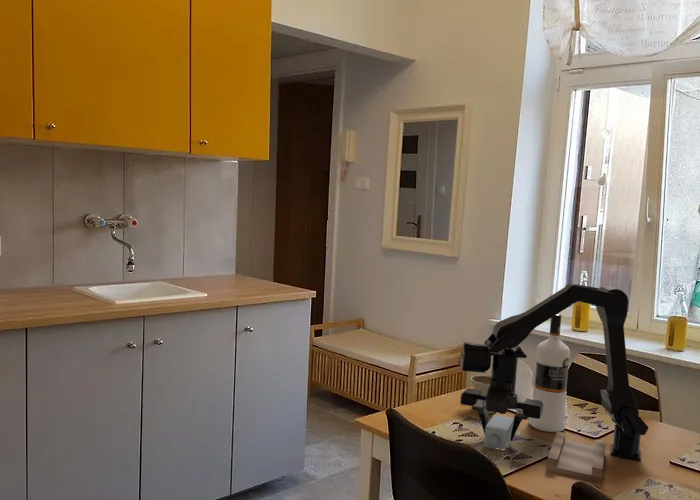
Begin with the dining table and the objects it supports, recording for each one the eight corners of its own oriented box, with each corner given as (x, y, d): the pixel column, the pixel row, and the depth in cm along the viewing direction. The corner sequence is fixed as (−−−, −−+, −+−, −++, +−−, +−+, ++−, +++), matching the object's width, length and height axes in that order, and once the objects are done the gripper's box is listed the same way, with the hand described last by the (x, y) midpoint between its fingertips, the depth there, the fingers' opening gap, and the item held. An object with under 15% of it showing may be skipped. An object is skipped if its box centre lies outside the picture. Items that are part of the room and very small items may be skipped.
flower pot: (461, 406, 174) (463, 376, 173) (488, 403, 178) (490, 374, 177) (481, 417, 165) (484, 385, 165) (509, 414, 169) (512, 383, 169)
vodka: (543, 418, 167) (553, 310, 165) (572, 430, 160) (583, 316, 157) (520, 423, 162) (530, 311, 160) (549, 435, 154) (560, 318, 152)
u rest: (555, 443, 149) (556, 431, 149) (604, 453, 145) (605, 441, 145) (546, 470, 133) (547, 457, 133) (601, 483, 128) (602, 469, 128)
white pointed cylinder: (537, 360, 182) (529, 364, 178) (533, 400, 183) (525, 404, 179) (518, 356, 186) (510, 359, 182) (514, 395, 187) (506, 399, 183)
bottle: (492, 433, 154) (494, 414, 154) (512, 438, 152) (514, 418, 151) (480, 451, 142) (482, 430, 142) (502, 456, 140) (504, 434, 140)
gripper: (456, 375, 143) (451, 440, 144) (539, 389, 135) (533, 458, 136) (468, 364, 153) (463, 425, 154) (546, 377, 145) (540, 441, 147)
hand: (498, 437), depth 148 cm, fingers open, 6 cm apart
